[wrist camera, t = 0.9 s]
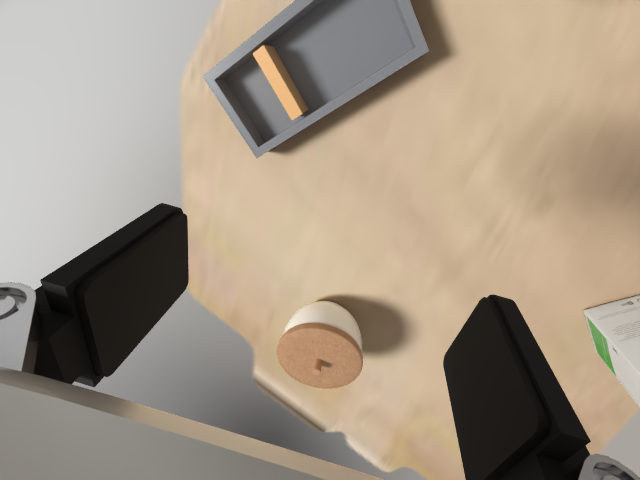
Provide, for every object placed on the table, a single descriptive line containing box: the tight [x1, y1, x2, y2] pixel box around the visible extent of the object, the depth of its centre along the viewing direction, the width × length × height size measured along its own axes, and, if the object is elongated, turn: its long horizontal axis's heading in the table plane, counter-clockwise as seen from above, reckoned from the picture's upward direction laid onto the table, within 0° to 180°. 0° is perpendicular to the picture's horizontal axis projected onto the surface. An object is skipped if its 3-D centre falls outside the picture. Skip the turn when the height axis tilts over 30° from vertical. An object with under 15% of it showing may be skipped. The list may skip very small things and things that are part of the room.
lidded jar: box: [277, 301, 363, 388], centre depth 41 cm, size 11×11×9 cm
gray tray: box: [203, 0, 429, 158], centre depth 28 cm, size 18×9×3 cm, turn 121°
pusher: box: [253, 45, 309, 120], centre depth 29 cm, size 1×6×3 cm, turn 31°
